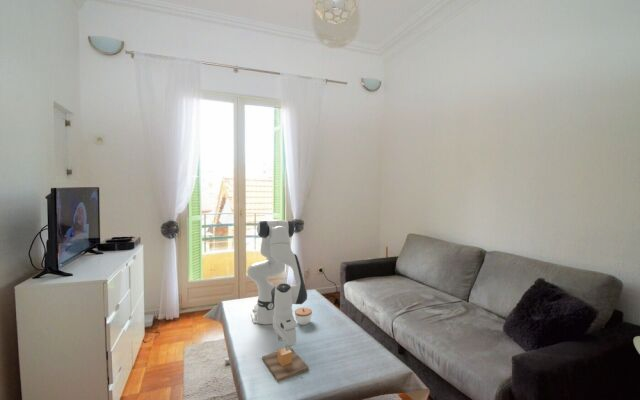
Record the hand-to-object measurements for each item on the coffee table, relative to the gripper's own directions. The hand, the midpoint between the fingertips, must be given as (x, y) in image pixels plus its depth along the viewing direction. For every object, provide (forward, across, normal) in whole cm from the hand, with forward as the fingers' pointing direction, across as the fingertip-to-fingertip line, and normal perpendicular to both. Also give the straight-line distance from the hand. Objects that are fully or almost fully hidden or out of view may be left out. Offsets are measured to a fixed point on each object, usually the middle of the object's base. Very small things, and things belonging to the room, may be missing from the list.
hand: (283, 345), depth 147 cm
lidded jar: (+11, -33, +28) cm, 44 cm away
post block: (+10, +1, 0) cm, 10 cm away
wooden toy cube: (+8, 0, 0) cm, 8 cm away
